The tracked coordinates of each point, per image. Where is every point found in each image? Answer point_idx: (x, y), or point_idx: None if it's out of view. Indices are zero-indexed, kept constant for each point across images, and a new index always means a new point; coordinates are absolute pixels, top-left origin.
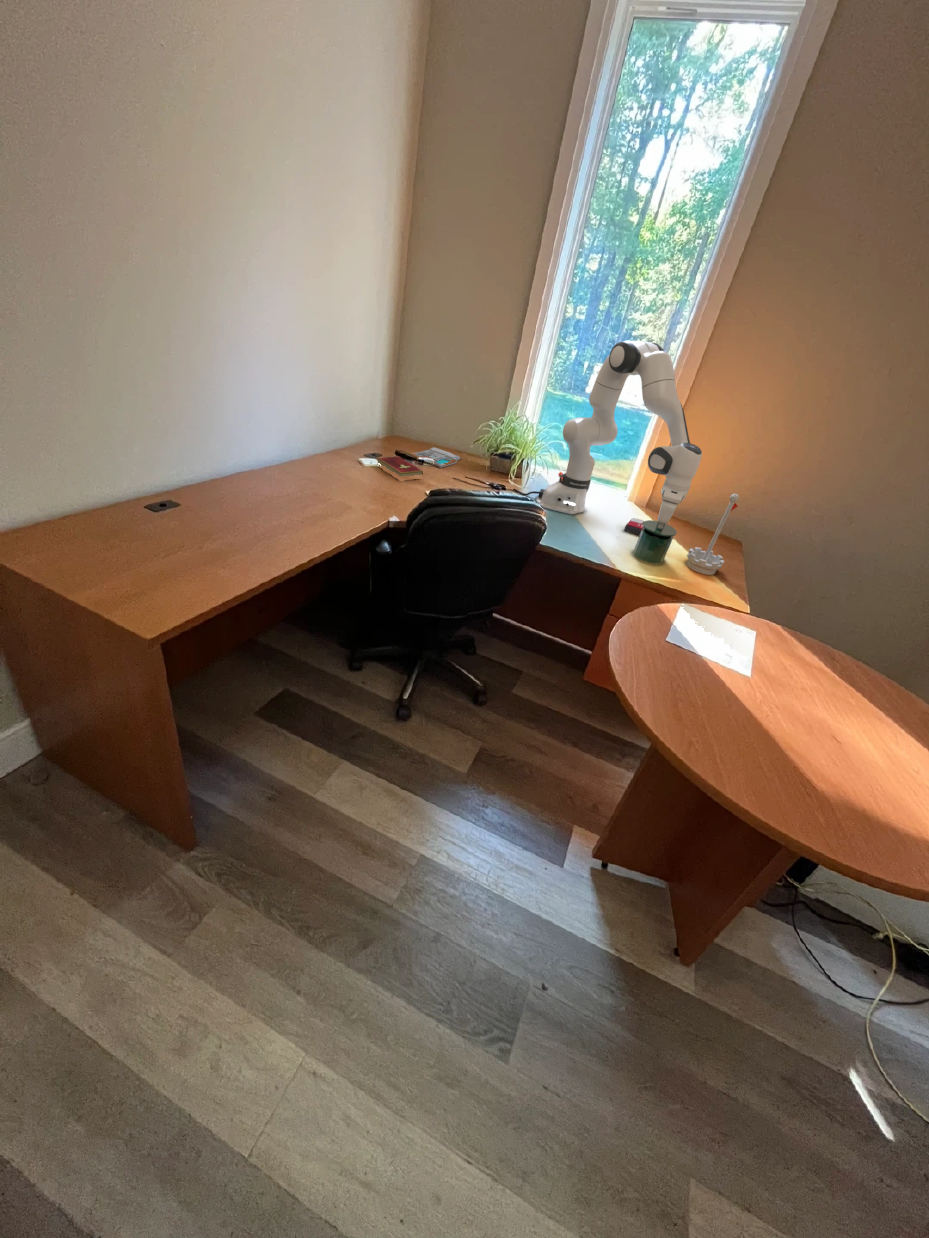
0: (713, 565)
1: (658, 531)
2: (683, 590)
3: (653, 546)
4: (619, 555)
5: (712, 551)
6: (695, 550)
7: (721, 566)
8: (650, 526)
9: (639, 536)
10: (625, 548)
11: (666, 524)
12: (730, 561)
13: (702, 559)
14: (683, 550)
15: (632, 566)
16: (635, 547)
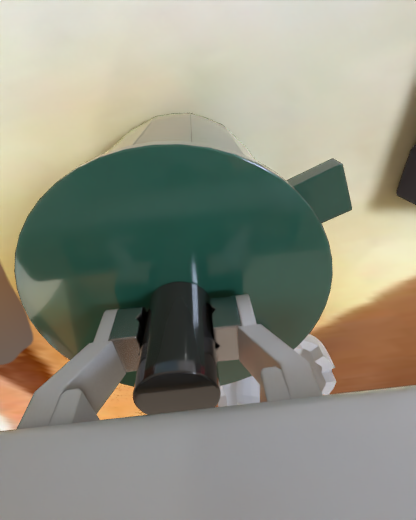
0: (220, 402)
1: (74, 317)
2: (40, 343)
3: None
4: (55, 45)
5: (327, 392)
6: (313, 352)
7: None
8: (113, 242)
9: (134, 138)
10: (195, 48)
11: (305, 323)
12: (370, 384)
13: (222, 387)
14: (376, 287)
15: (7, 160)
16: (143, 125)
